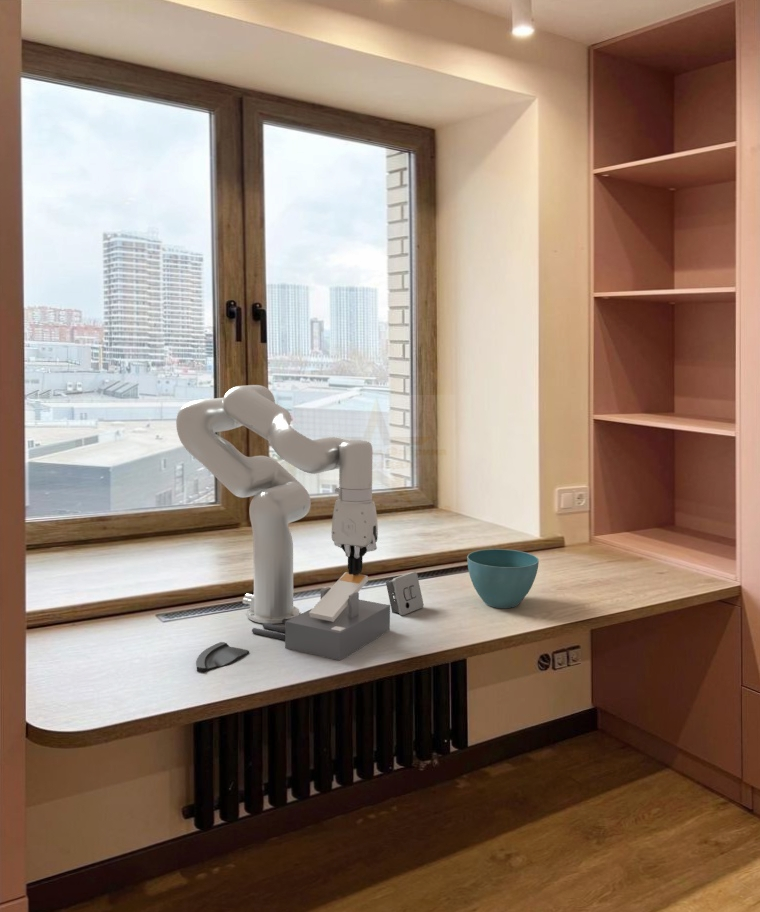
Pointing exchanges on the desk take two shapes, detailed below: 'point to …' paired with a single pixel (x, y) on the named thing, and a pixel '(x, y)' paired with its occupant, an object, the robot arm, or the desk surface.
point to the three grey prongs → (272, 627)
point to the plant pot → (502, 575)
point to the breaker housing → (338, 629)
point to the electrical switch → (405, 593)
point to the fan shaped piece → (219, 657)
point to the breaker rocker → (338, 597)
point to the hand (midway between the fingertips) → (355, 573)
